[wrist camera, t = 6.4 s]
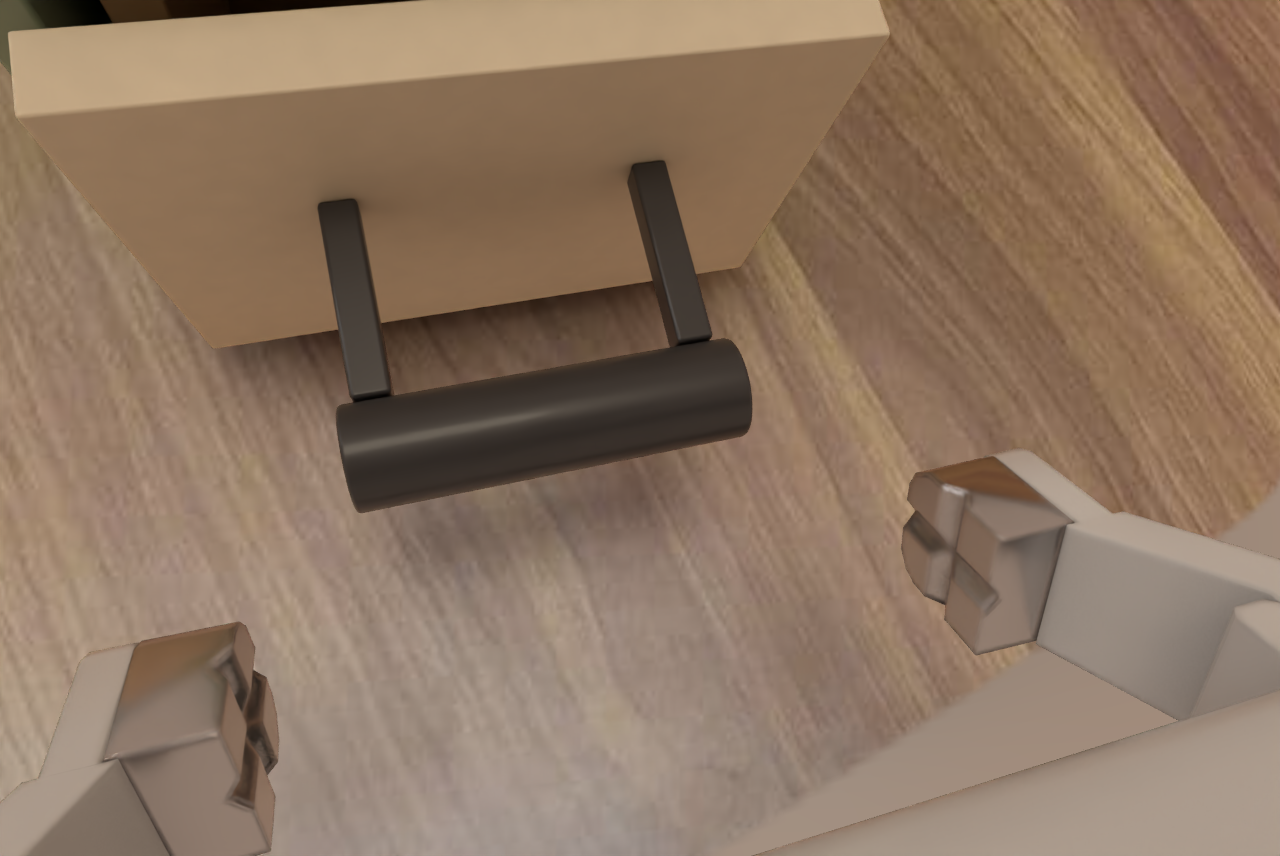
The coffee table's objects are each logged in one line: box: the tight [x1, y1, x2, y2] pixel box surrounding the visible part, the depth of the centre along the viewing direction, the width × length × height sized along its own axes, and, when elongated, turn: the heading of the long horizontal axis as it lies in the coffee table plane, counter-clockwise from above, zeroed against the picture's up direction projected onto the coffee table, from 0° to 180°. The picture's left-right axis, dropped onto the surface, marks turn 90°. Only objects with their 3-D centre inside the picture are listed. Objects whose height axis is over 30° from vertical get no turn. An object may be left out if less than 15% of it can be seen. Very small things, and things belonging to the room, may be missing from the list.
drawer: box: [8, 0, 890, 513], centre depth 16 cm, size 17×11×8 cm, turn 14°
